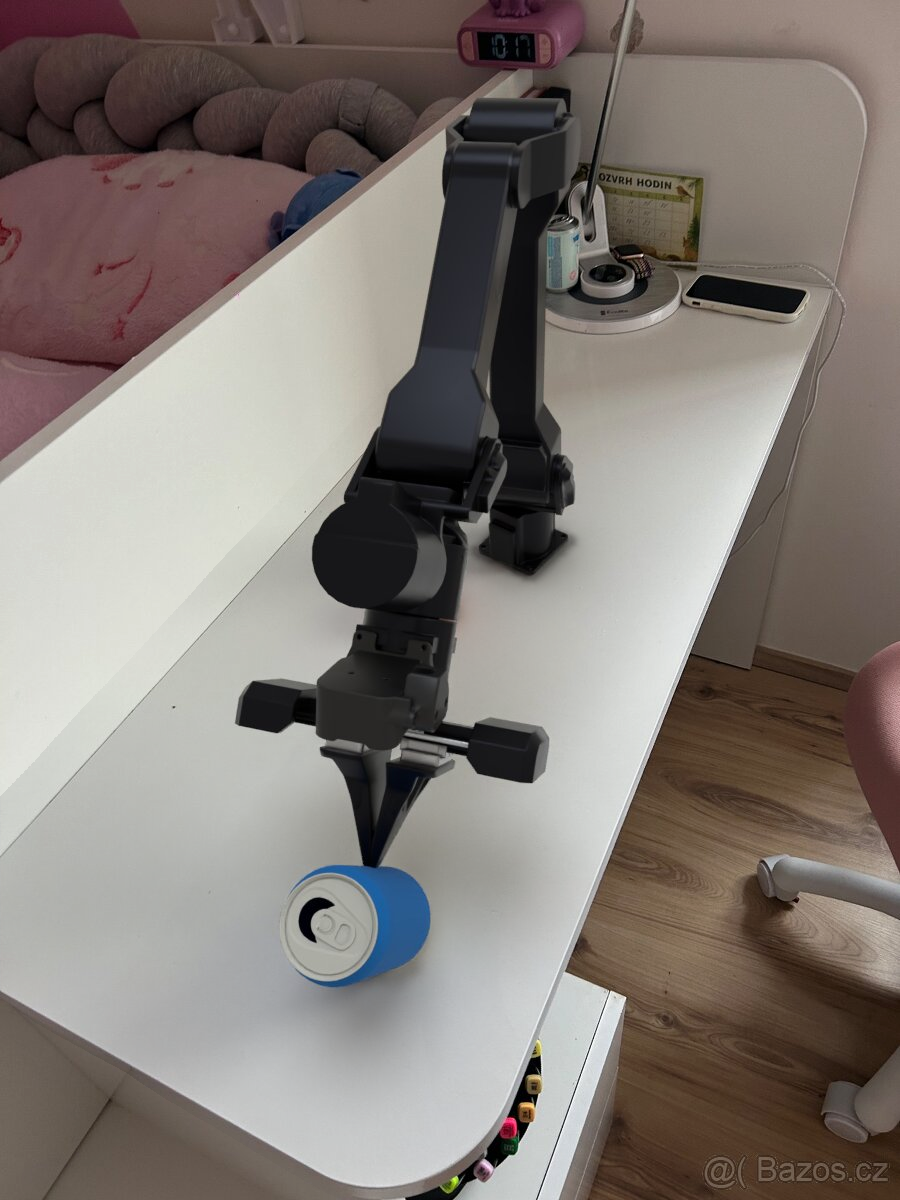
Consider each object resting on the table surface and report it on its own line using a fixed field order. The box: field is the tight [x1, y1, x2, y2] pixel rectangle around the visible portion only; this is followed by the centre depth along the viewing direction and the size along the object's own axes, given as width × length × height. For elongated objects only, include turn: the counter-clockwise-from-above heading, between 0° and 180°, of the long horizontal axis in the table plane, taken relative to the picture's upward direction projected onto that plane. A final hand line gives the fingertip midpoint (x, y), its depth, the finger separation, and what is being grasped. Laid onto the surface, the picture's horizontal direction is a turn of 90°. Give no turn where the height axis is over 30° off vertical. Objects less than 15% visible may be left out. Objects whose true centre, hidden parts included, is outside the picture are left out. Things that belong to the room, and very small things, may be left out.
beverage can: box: [278, 864, 431, 988], centre depth 56 cm, size 6×6×12 cm
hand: (371, 865), depth 57 cm, fingers closed, pressing on beverage can
